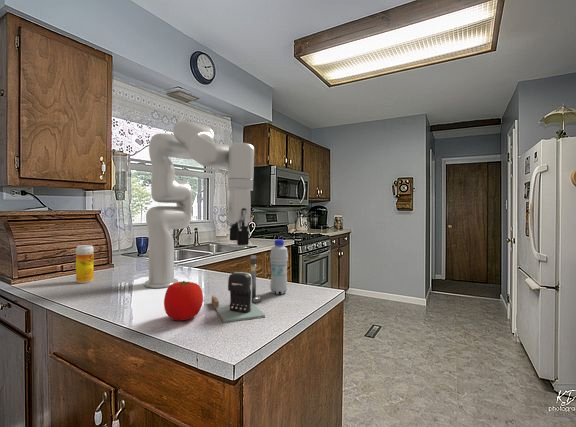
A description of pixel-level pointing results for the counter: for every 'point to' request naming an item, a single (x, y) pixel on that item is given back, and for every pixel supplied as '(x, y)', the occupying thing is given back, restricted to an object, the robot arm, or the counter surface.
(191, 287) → the tomato
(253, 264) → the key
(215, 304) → the holder
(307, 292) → the counter surface
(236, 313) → the mat
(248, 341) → the counter surface
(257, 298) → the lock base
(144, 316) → the counter surface
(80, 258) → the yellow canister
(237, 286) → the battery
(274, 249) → the bottle
